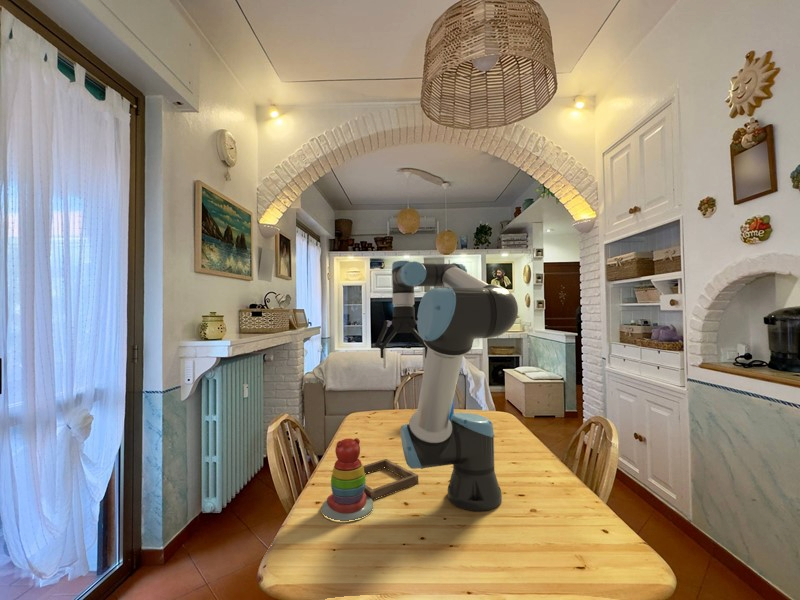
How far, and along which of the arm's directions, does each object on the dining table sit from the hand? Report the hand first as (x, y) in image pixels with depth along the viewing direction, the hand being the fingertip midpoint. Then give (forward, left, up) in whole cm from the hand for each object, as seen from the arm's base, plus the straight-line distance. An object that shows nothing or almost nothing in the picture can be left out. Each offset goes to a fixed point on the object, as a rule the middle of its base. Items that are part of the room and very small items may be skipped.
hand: (404, 367), depth 131 cm
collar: (-2, +13, -34) cm, 37 cm away
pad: (-10, +29, -34) cm, 46 cm away
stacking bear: (-10, +29, -33) cm, 45 cm away
